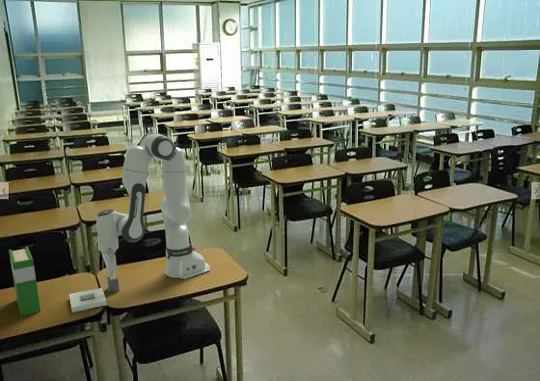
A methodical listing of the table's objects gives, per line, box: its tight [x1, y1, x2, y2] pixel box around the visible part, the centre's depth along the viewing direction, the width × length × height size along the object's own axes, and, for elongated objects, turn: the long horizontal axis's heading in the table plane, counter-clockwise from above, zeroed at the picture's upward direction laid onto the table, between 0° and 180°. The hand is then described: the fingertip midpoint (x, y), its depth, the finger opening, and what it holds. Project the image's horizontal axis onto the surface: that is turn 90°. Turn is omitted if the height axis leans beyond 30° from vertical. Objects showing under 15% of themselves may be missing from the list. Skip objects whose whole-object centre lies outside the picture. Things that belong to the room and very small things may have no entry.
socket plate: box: [68, 287, 108, 314], centre depth 207 cm, size 14×14×2 cm
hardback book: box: [8, 245, 41, 317], centre depth 202 cm, size 18×7×24 cm, turn 33°
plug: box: [106, 274, 120, 293], centre depth 218 cm, size 4×5×7 cm
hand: (110, 273), depth 217 cm, fingers open, 8 cm apart
